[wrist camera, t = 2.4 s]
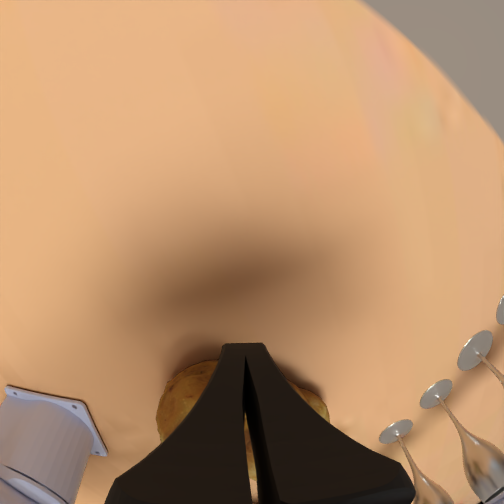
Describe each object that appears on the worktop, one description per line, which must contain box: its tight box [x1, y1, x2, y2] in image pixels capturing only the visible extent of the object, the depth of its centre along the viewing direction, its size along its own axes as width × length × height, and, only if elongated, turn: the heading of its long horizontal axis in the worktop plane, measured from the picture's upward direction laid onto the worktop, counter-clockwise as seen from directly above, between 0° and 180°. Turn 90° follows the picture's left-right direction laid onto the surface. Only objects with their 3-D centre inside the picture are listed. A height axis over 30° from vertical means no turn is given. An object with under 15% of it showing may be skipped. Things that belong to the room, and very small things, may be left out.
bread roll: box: [156, 360, 330, 481], centre depth 19 cm, size 13×10×8 cm
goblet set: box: [374, 295, 504, 504], centre depth 19 cm, size 28×6×13 cm, turn 145°
